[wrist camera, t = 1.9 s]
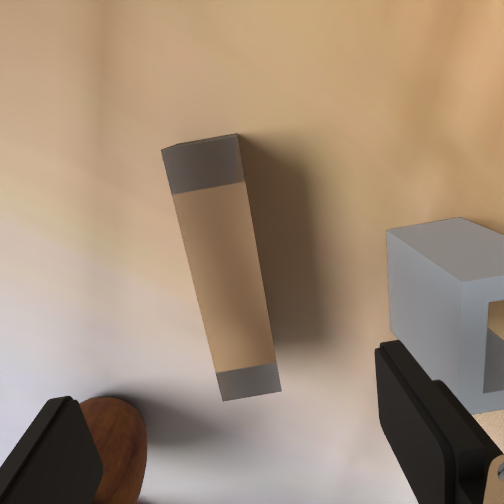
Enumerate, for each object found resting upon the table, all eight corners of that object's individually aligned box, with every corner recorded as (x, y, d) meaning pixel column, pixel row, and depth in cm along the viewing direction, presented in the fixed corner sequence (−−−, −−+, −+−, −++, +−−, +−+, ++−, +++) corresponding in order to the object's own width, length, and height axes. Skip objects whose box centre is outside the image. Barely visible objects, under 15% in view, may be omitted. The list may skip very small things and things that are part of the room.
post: (386, 230, 23) (462, 282, 15) (460, 217, 23) (572, 263, 15) (390, 329, 25) (457, 417, 18) (456, 318, 25) (552, 401, 18)
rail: (224, 349, 25) (222, 401, 20) (177, 143, 20) (160, 150, 16) (272, 341, 25) (281, 391, 20) (236, 133, 20) (237, 136, 16)
